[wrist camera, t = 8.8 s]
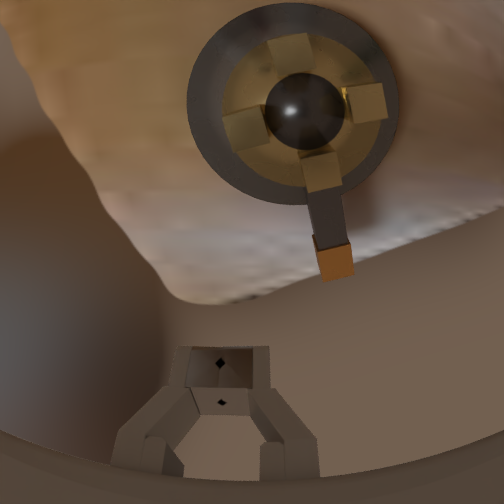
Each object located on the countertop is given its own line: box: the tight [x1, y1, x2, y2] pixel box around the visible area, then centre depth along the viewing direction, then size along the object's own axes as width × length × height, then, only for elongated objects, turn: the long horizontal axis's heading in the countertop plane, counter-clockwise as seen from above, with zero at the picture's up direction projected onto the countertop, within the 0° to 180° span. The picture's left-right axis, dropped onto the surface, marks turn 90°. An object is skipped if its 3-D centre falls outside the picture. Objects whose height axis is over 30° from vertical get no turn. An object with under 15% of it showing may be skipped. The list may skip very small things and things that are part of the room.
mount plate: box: [187, 3, 399, 205], centre depth 20 cm, size 14×14×3 cm
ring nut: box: [222, 32, 388, 282], centre depth 19 cm, size 16×9×4 cm, turn 16°
